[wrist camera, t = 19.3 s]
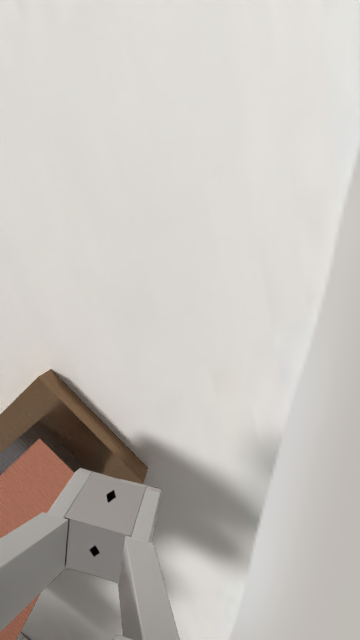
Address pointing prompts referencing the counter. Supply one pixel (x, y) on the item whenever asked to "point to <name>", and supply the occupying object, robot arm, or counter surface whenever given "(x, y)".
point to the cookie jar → (21, 637)
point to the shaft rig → (64, 432)
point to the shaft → (29, 501)
